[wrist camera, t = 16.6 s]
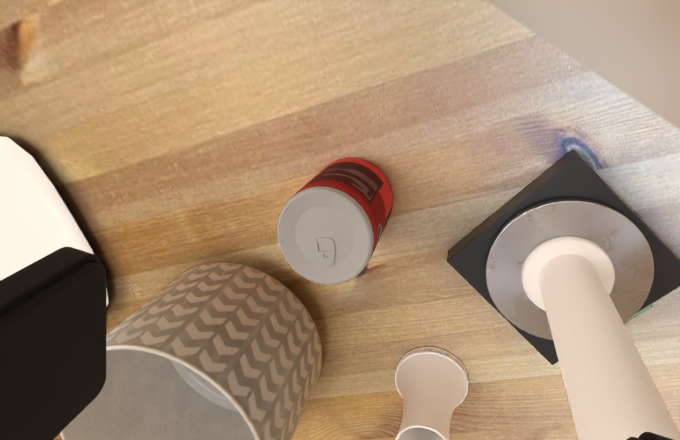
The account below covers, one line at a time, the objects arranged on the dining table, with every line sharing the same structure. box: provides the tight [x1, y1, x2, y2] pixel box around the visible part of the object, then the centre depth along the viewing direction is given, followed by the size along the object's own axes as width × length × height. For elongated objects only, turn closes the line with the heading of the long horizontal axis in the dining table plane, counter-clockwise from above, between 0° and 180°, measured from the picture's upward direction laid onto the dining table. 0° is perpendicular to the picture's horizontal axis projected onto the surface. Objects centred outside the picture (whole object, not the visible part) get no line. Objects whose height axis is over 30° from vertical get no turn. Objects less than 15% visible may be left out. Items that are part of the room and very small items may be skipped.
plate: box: [0, 136, 109, 307], centre depth 61 cm, size 25×25×2 cm
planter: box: [60, 262, 322, 440], centre depth 48 cm, size 19×19×18 cm
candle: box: [522, 236, 680, 440], centre depth 31 cm, size 7×7×25 cm
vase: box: [395, 347, 468, 440], centre depth 48 cm, size 8×8×10 cm
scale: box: [447, 150, 680, 365], centre depth 44 cm, size 14×14×4 cm
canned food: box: [277, 158, 393, 285], centre depth 43 cm, size 8×8×11 cm
